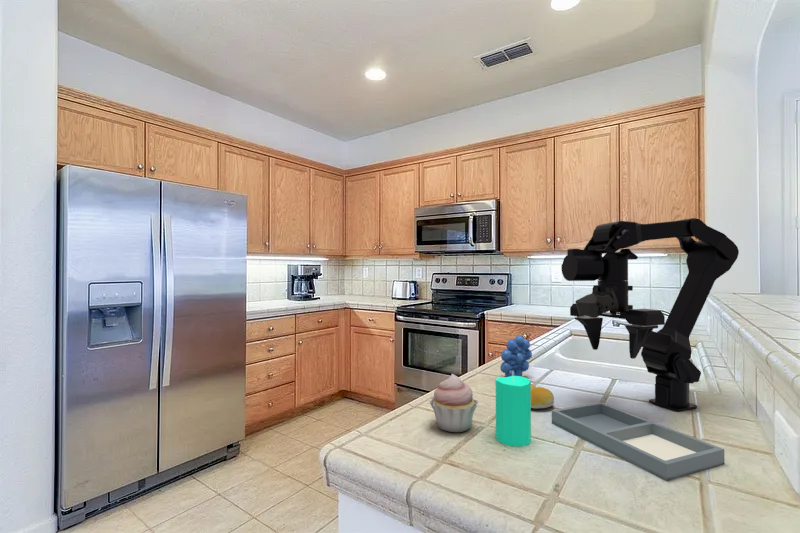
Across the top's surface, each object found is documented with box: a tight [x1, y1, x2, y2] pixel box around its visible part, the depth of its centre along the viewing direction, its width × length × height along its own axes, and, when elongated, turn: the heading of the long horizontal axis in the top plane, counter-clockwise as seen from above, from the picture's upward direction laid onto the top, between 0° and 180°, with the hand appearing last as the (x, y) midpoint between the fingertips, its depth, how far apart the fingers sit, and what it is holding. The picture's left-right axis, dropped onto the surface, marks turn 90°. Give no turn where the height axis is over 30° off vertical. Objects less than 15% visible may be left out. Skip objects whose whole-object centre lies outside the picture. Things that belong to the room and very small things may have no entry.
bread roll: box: [531, 383, 555, 409], centre depth 85 cm, size 8×9×4 cm
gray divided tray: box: [551, 401, 725, 482], centre depth 67 cm, size 13×22×2 cm, turn 21°
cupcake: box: [428, 373, 479, 433], centre depth 74 cm, size 9×9×10 cm
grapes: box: [499, 334, 533, 377], centre depth 106 cm, size 12×7×12 cm, turn 123°
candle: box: [495, 371, 532, 448], centre depth 68 cm, size 6×6×12 cm
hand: (613, 353), depth 82 cm, fingers open, 9 cm apart
